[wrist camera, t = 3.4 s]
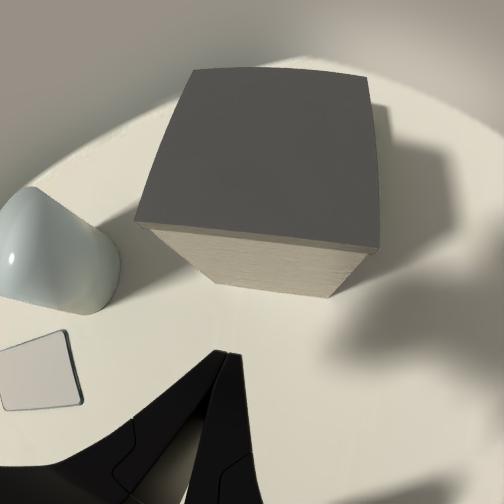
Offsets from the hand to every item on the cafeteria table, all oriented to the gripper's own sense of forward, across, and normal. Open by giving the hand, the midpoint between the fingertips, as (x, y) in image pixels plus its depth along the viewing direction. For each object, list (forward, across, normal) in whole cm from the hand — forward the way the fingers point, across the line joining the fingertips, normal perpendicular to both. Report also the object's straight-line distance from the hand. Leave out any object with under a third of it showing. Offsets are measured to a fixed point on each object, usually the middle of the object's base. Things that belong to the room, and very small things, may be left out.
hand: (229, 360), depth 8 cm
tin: (+14, 0, +2) cm, 14 cm away
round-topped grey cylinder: (+10, +16, +6) cm, 20 cm away
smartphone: (+2, +22, +15) cm, 27 cm away
